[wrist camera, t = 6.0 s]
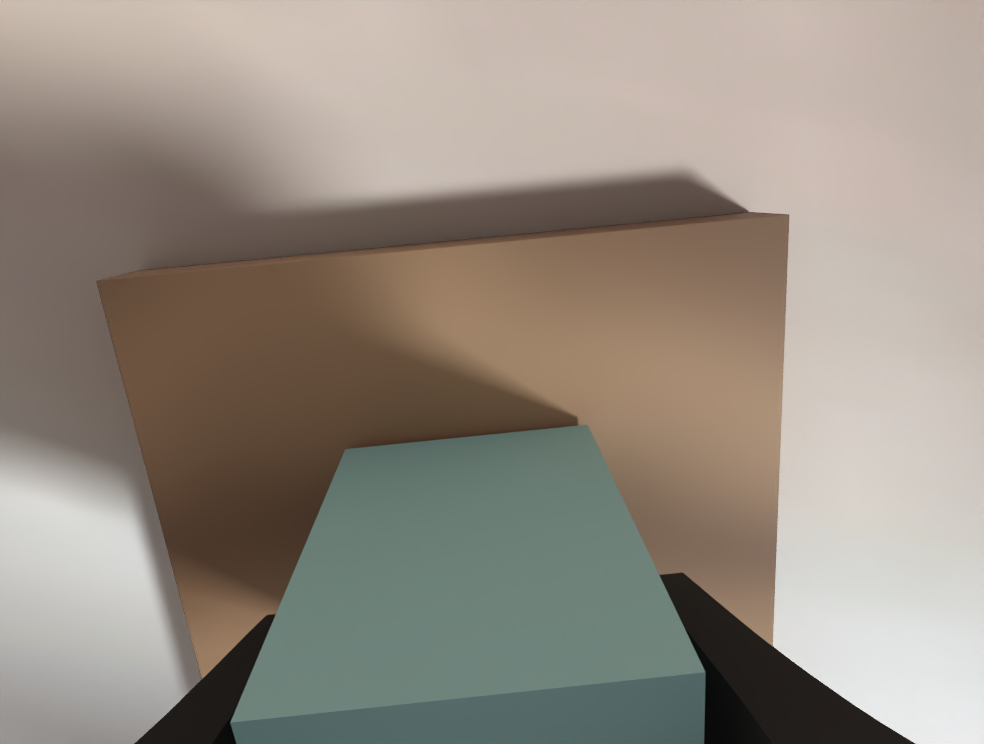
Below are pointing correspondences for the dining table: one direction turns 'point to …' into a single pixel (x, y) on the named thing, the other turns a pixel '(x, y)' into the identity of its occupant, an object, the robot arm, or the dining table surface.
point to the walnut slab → (461, 390)
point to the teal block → (475, 607)
